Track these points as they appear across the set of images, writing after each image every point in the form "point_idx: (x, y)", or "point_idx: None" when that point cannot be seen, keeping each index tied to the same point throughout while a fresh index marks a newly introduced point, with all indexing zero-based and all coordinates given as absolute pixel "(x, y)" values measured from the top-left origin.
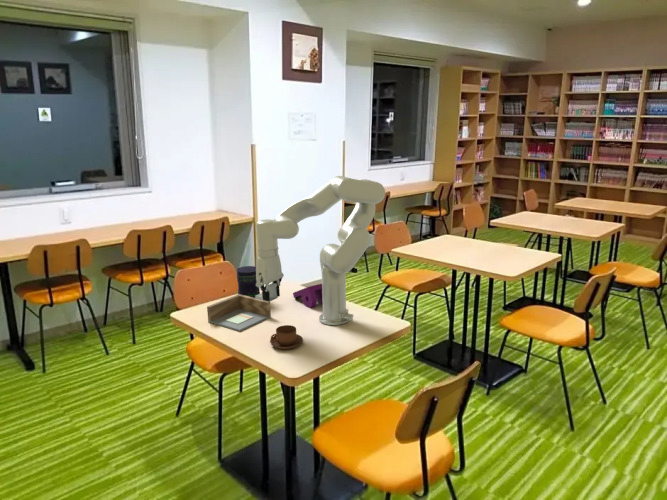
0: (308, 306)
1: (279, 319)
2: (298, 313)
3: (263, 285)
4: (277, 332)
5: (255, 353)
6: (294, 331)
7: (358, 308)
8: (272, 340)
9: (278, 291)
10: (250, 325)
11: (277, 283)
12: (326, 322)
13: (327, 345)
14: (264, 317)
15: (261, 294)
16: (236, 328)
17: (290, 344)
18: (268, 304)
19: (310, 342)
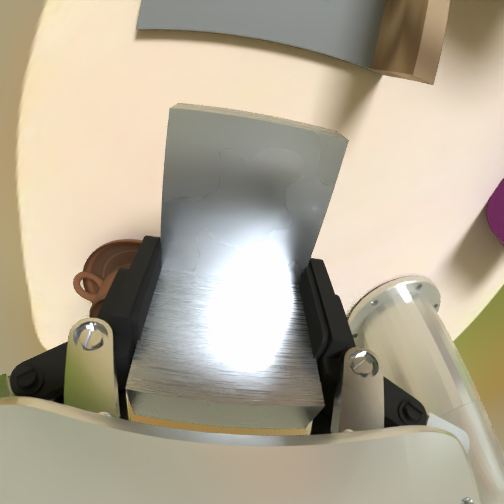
0: (493, 198)
1: (369, 128)
2: (444, 183)
3: (102, 395)
4: (90, 310)
5: (36, 231)
6: None
7: (466, 321)
8: (82, 277)
9: None
10: (222, 33)
11: (307, 428)
12: (350, 322)
13: None
14: (350, 54)
15: (250, 154)
16: (145, 3)
17: None
18: (411, 76)
19: None
